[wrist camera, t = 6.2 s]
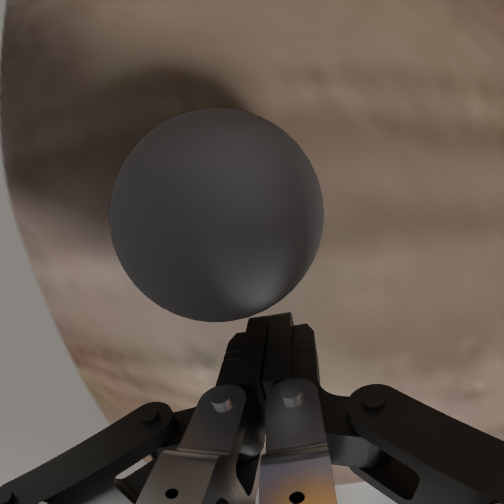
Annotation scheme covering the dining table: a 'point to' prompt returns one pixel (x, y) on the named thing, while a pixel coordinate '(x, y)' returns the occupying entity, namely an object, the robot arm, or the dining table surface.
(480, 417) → the dining table surface
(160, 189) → the gray ball
